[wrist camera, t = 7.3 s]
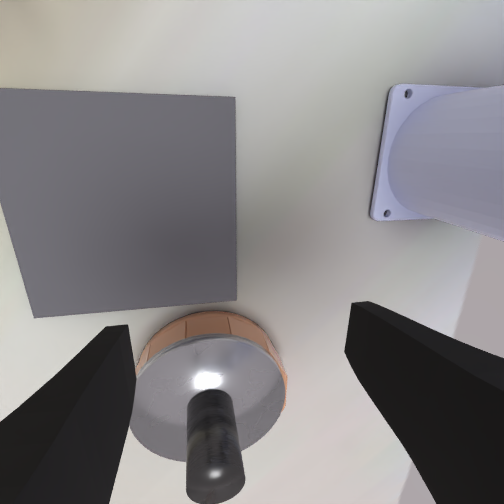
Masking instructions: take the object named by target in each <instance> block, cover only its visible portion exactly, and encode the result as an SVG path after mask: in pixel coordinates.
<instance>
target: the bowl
mask: <svg viewBox="0 0 504 504" xmlns="http://www.w3.org/2000/svg"><path fill="white" fill-rule="evenodd" d="M210 333H225V334H232V335H237V336H241V337H244V338H247V339H249V340H252V341H254V342H256V343H257V344H259V345H261V346H262V347H263V348H265V349H266V350H267V351H268V352H269V353H270V354H271V355H272V356H273V358H274V359H275V361H276V363H277V365H278V367H279V369H280V372H281V374H282V377H283V380H284V384H285V401H284V405H283V409H284V408H285V404H286V389H287V374H286V372H285V370H284V367H283V365H282V362H281V360H280V357H279V355H278V353H277V352H276V350H275V349H274V347H273V346H272V343H271V341H270V339H269V337H268V336H267V334H266V333H265V332H264V331H263V329H262V328H260V327H259V326H258V325H257V324H256V323H254V322H253V321H251V320H249V319H247V318H245V317H243V316H240V315H237V314H234V313H229V312H222V311H206V312H199V313H194V314H190V315H187V316H184V317H182V318H179V319H177V320H175V321H173V322H171V323H169V324H168V325H166V326H165V327H163V328H162V329H161V330H160V331H158V332H157V333H156V334H155V335H154V336H153V337H152V338H151V339H150V341H149V342H148V343H147V345H146V346H145V348H144V350H143V352H142V354H141V356H140V360H139V363H138V365H137V367H136V369H135V371H136V375H137V374H138V372H139V371H140V369H141V368H142V367H143V365H144V364H145V363H146V362H147V361H148V360H149V359H150V358H151V357H152V356H153V355H155V354H156V353H157V352H159V351H160V350H162V349H163V348H165V347H167V346H168V345H170V344H172V343H174V342H177V341H179V340H182V339H185V338H188V337H191V336H196V335H201V334H210ZM283 409H282V411H283ZM282 411H281V412H282Z"/></svg>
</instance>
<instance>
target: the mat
mask: <svg viewBox="0 0 504 504" xmlns="http://www.w3.org/2000/svg"><path fill="white" fill-rule="evenodd" d="M0 203H1V206H2V210H3V213H4V217H5V220H6V223H7V227H8V230H9V234H10V237H11V241H12V244H13V248H14V251H15V254H16V258H17V261H18V265H19V268H20V272H21V275H22V278H23V282H24V285H25V289H26V292H27V296H28V299H29V303H30V306H31V309H32V313H33V316H34V318H43V317H54V316H65V315H77V314H88V313H99V312H111V311H122V310H133V309H145V308H156V307H167V306H178V305H190V304H201V303H212V302H224V301H235V300H237V269H236V129H235V97H222V96H196V95H169V94H143V93H116V92H90V91H63V90H37V89H10V88H0Z"/></svg>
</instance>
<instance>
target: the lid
mask: <svg viewBox="0 0 504 504" xmlns="http://www.w3.org/2000/svg"><path fill="white" fill-rule="evenodd" d="M136 378H137V380H136V389H135V397H134V404H133V411H132V416H131V420H130V424H129V426H130V429H131V431H132V433H133V434H134V436H135V437H136V439H137V440H138V441H139V442H140V443H141V444H142V445H143V446H144V447H145V448H147V449H148V450H150V451H151V452H153V453H155V454H157V455H159V456H162V457H165V458H168V459H171V460H176V461H183V462H186V492H187V495H188V497H189V498H190V499H191V500H192V501H194V502H196V503H199V504H218V503H222V502H224V501H227V500H229V499H231V498H232V497H234V496H235V495H237V494H238V493H239V492H240V491H241V489H242V488H243V486H244V484H245V474H244V467H243V461H242V455H241V451H242V450H244V449H246V448H248V447H250V446H251V445H253V444H254V443H255V442H257V441H258V440H259V439H261V438H262V437H263V436H264V435H265V434H266V433H267V432H268V431H269V430H270V429H271V428H272V426H273V425H274V424H275V422H276V421H277V419H278V417H279V416H280V413H281V411H282V409H283V405H284V401H285V384H284V380H283V377H282V374H281V372H280V369H279V367H278V365H277V363H276V361H275V359H274V358H273V356H272V355H271V354H270V353H269V352H268V351H267V350H266V349H265V348H263V347H262V346H261V345H259V344H257V343H256V342H254V341H252V340H249V339H247V338H244V337H241V336H237V335H232V334H225V333H210V334H201V335H196V336H191V337H188V338H185V339H182V340H179V341H177V342H174V343H172V344H170V345H168V346H167V347H165V348H163V349H162V350H160V351H159V352H157V353H156V354H155V355H153V356H152V357H151V358H150V359H149V360H148V361H147V362H146V363H145V364H144V365H143V367H142V368H141V369H140V371H139V372H138V374H137V375H136Z"/></svg>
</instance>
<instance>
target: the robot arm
mask: <svg viewBox="0 0 504 504" xmlns="http://www.w3.org/2000/svg"><path fill="white" fill-rule="evenodd" d="M406 90H407V92H408V96H407V98H405V97H404V93H405V91H406ZM386 210H387V214H386V215H385V216H384V212H385V211H386ZM370 216H371V218H372V219H374V220H376V221H392V220H415V219H437V220H440V221H443V222H446V223H449V224H452V225H455V226H458V227H461V228H464V229H467V230H470V231H473V232H476V233H479V234H482V235H485V236H488V237H492V238H494V239H497V240H500V241H504V85H500V86H494V87H488V88H478V87H458V86H439V85H419V84H397V85H395V86H393V87H392V88H391V90H390V92H389V97H388V104H387V110H386V116H385V123H384V129H383V136H382V142H381V148H380V155H379V161H378V167H377V174H376V180H375V187H374V193H373V199H372V206H371V212H370ZM344 352H345V354H346V357H347V359H348V361H349V363H350V365H351V367H352V369H353V371H354V373H355V375H356V376H357V378H358V380H359V381H360V383H361V385H362V386H363V388H364V389H365V391H366V392H367V394H368V395H369V397H370V398H371V399H372V401H373V402H374V404H375V405H376V407H377V408H378V410H379V411H380V413H381V414H382V416H383V417H384V418H385V420H386V421H387V423H388V424H389V426H390V427H391V429H392V430H393V432H394V433H395V435H396V436H397V437H398V439H399V440H400V442H401V443H402V445H403V446H404V448H405V450H406V451H407V453H408V454H409V456H410V458H411V459H412V461H413V463H414V464H415V466H416V468H417V470H418V471H419V473H420V475H421V477H422V479H423V480H424V482H425V484H426V486H427V487H428V489H429V491H430V493H431V494H432V496H433V498H434V500H435V502H436V504H504V358H501V357H499V356H496V355H493V354H490V353H488V352H485V351H483V350H480V349H477V348H475V347H472V346H470V345H468V344H465V343H463V342H460V341H458V340H456V339H453V338H451V337H449V336H446V335H444V334H442V333H439V332H437V331H435V330H433V329H430V328H428V327H426V326H424V325H422V324H420V323H417V322H415V321H413V320H411V319H409V318H407V317H404V316H402V315H400V314H398V313H396V312H394V311H391V310H389V309H387V308H384V307H382V306H380V305H377V304H375V303H372V302H369V301H365V302H355V303H352V304H351V311H350V318H349V324H348V331H347V338H346V344H345V351H344ZM136 380H137V378H136V371H135V365H134V359H133V353H132V346H131V340H130V334H129V328H128V325H117V326H107V327H105V328H104V329H103V330H102V331H101V332H100V333H99V334H98V335H97V336H96V337H94V338H93V339H92V340H91V341H90V342H89V343H88V344H87V345H86V346H85V347H84V348H83V349H82V350H81V351H80V352H79V353H78V354H77V355H76V356H75V357H74V358H73V359H72V360H71V361H70V362H69V363H68V364H66V365H65V366H64V367H63V368H62V369H61V370H60V371H59V372H58V373H57V374H56V375H55V376H54V377H53V378H51V379H50V380H49V381H48V382H47V383H46V384H44V385H43V386H42V387H41V388H40V389H39V390H38V391H36V392H35V393H34V394H33V395H32V396H31V397H30V398H28V399H27V400H26V401H25V402H24V403H23V404H22V405H20V406H19V407H18V408H17V409H16V410H14V411H13V412H12V413H11V414H9V415H8V416H7V417H6V418H4V419H3V420H2V421H1V422H0V504H109V502H110V498H111V494H112V490H113V486H114V482H115V478H116V474H117V471H118V467H119V463H120V459H121V455H122V451H123V447H124V443H125V440H126V436H127V432H128V428H129V424H130V420H131V416H132V411H133V404H134V397H135V389H136Z"/></svg>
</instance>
